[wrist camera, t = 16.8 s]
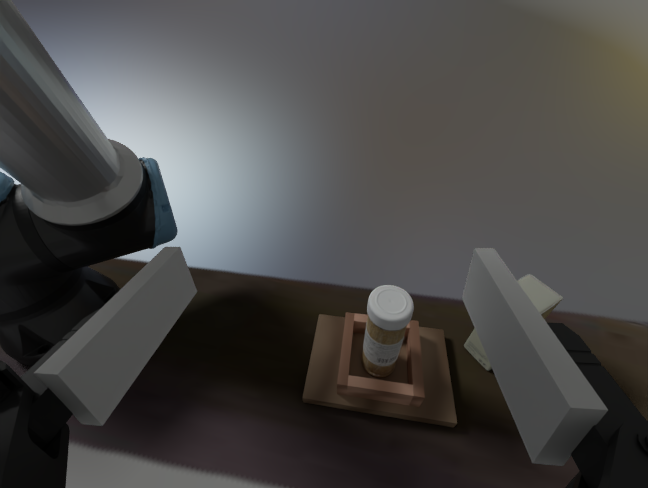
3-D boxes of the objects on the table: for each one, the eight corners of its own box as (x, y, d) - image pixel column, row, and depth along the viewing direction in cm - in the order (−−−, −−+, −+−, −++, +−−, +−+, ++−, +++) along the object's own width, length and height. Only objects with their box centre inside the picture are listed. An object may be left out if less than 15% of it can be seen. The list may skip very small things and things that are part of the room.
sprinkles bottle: (394, 347, 40) (413, 285, 31) (395, 381, 37) (416, 323, 28) (361, 343, 41) (369, 281, 31) (359, 376, 37) (367, 317, 28)
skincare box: (487, 372, 39) (529, 322, 30) (461, 346, 42) (493, 293, 33) (519, 350, 41) (566, 297, 33) (492, 326, 44) (530, 271, 35)
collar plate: (303, 402, 37) (300, 388, 34) (319, 319, 45) (318, 302, 42) (453, 427, 34) (465, 414, 31) (440, 335, 43) (448, 318, 40)
